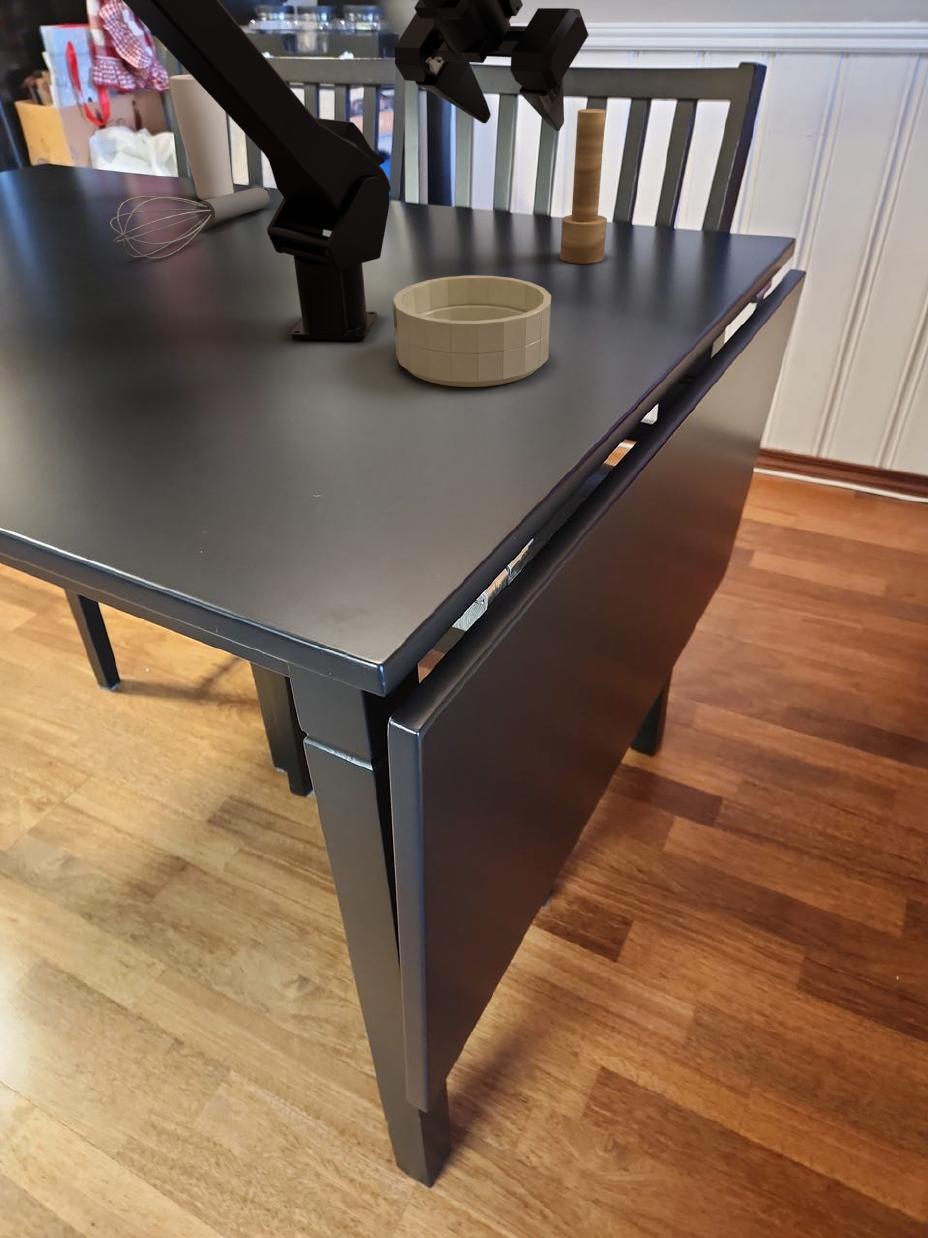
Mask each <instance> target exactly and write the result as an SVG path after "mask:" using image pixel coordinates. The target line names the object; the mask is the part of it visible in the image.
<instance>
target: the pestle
mask: <svg viewBox="0 0 928 1238" xmlns="http://www.w3.org/2000/svg"><path fill="white" fill-rule="evenodd" d="M606 113H607V110H605V109H601V108H582V109H578V110H577V115H576V117H577V118H576V130H575V131H576V132H575V133H576V135H575V149H574V168H573V185H572V200H571V201H572V202H571V214H569V215H566V216H563V217H562V218H561V232H560V233H561V235H560V252H559V253H560V254H559V259H560V260H561V261H563V262H566V263H570V264H575V265H576V264H578V265H589V264H596V263H599V262H602V261H603V260H604V259H605V249H606V236H607V226H608V225H607V224H608V223H607V222H608V218H607V217H605V216H603V215H600V214H599V207H600V193H601V179H602V166H603V153H604V142H605V141H604V140H605V128H606V127H605V126H606Z"/></svg>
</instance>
